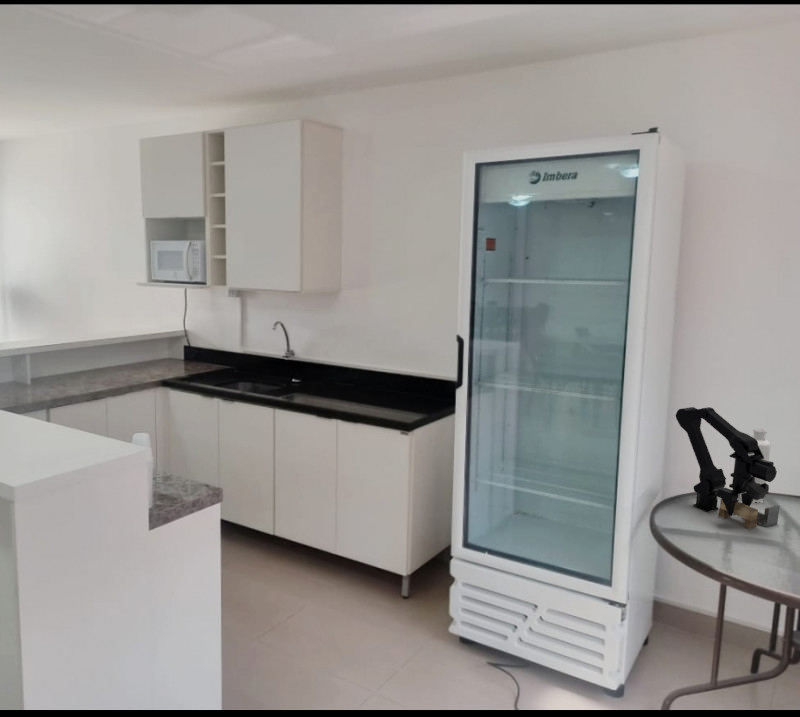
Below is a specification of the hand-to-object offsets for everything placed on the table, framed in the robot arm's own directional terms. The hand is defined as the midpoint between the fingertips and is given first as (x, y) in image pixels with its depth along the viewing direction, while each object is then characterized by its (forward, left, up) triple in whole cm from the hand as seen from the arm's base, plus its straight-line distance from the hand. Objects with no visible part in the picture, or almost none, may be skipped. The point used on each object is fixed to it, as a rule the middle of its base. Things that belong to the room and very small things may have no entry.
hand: (737, 513), depth 229 cm
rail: (0, 0, 0) cm, 0 cm away
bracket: (0, +8, -3) cm, 8 cm away
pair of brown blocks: (0, 0, -3) cm, 3 cm away
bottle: (-11, +24, -3) cm, 27 cm away
